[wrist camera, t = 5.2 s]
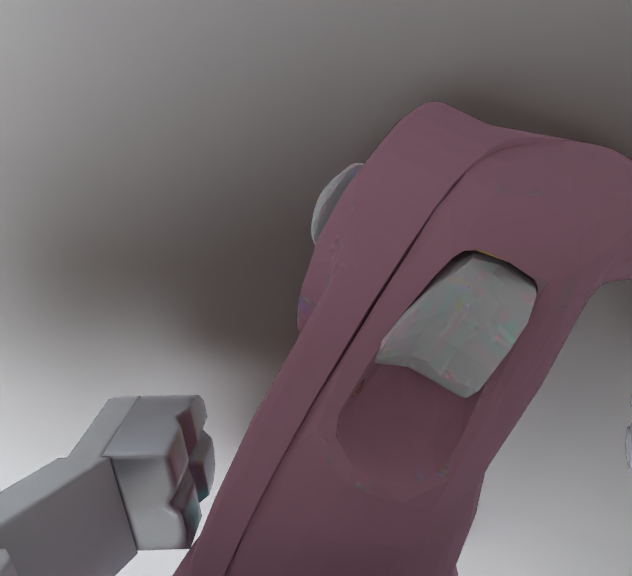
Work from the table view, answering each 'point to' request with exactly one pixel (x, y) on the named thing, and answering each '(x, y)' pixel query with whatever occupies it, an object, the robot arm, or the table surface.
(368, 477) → the video game controller
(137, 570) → the table surface
